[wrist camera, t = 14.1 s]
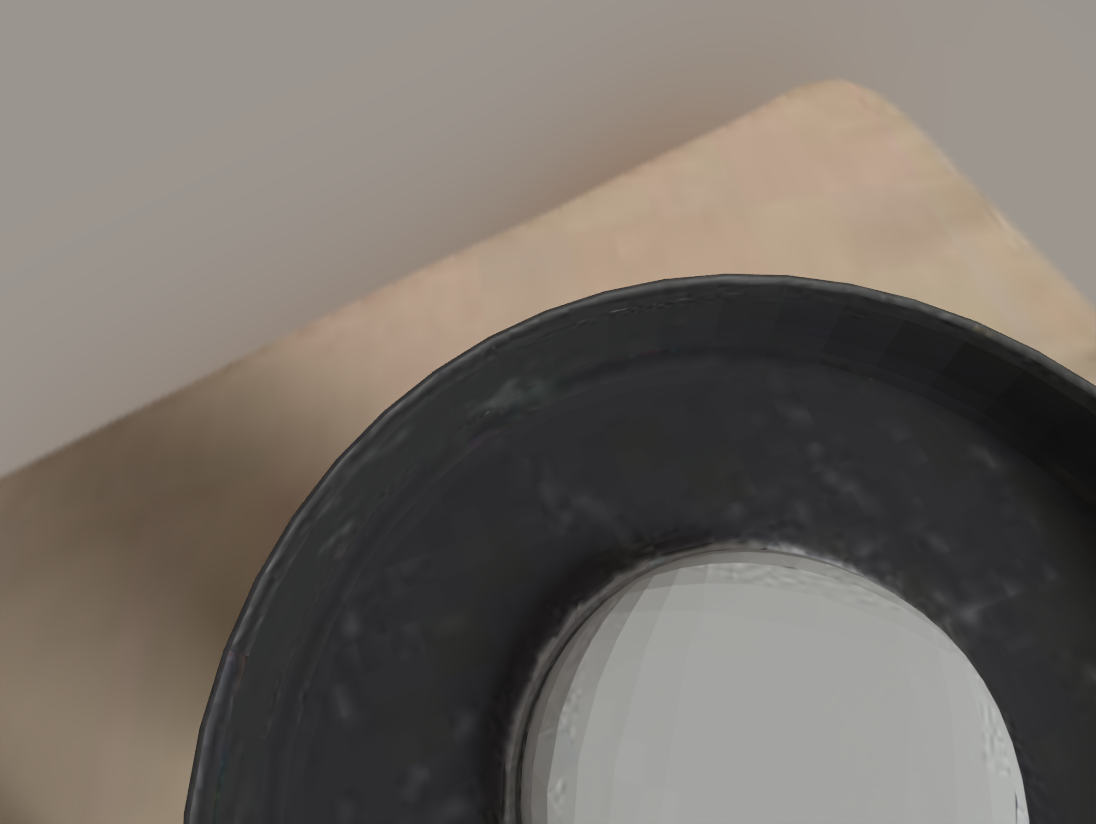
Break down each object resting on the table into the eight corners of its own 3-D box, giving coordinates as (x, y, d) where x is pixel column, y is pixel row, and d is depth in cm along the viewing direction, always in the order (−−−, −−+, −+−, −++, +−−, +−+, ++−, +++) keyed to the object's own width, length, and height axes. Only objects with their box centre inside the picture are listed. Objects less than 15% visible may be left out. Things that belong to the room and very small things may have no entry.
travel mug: (547, 610, 26) (537, 117, 7) (794, 742, 24) (1547, 532, 6) (409, 872, 23) (-155, 1118, 5) (678, 1039, 21) (1415, 2379, 3)
